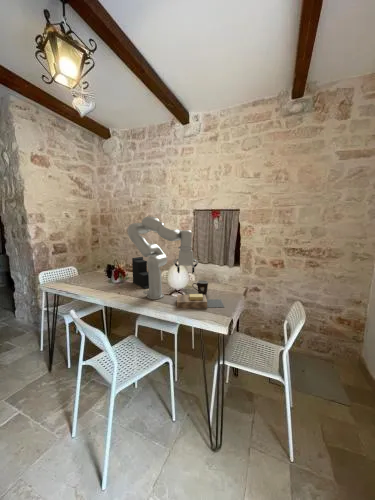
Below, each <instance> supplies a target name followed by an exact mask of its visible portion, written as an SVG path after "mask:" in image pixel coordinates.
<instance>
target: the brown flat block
mask: <svg viewBox="0 0 375 500" xmlns="http://www.w3.org/2000/svg"><path fill="white" fill-rule="evenodd" d="M206 296H207V295H203V300H190V297H189V294H177V298H176V308H177V309H195V308H196V309H197V308H198V309H204V308H205V309H207V308H208V306H207V300H208V299H207V297H206Z"/></svg>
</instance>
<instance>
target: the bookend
mask: <svg viewBox="0 0 375 500" xmlns="http://www.w3.org/2000/svg"><path fill="white" fill-rule="evenodd" d="M131 262H132V267H131V268H132V283H133V284H135V285H137V286H139V287H140V288H141V289H142V288H143V289H144V290H147V289H149V273H148V266H147V260H145V259H144V256H140V257H139V256H137V257H132V258H131Z"/></svg>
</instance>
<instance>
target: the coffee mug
mask: <svg viewBox="0 0 375 500" xmlns="http://www.w3.org/2000/svg"><path fill="white" fill-rule="evenodd" d="M191 285H192V288H193V289H194V290H195V291H197V292H198V293H197V294H202V295H205V296H207V294H208V287H209V286H208V285H209V281H208V280H202V279H201V280H197V281H196V282H193V284H191ZM194 285H196V286H197V288H196V287H194Z"/></svg>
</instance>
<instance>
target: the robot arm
mask: <svg viewBox="0 0 375 500" xmlns="http://www.w3.org/2000/svg"><path fill="white" fill-rule="evenodd" d="M151 231H152V232H154V233H156V234H157V235H158V236H159V237H160V238H162V239H164V240H167V241H168V242H175V241H180V246H178V249H179V252H178V258H177V259H175V260H172V261H173V262H172V263H173V264H174V266H175V268H176V269H177V271H176V272H177V274H180V272H181V271H180V266H187V267H188V266H191V267H192V269H191V273H192V275H193V274H194V273H195V268H196V267H197V266H198V264H199V261H198V260H197V259H194V252H193V250H192V249H193V248H192V247H193V246H192V245H193V243H192V242H193V241H192V240H193V239H192V238H193V236H192V235H193V232H192V231H191V230H188V229H184V230H183V229H170V228H167V227H166V226H165V224H164V222H162V221H160V220H159V218H157V217H156V216H145V217H143V218H142V220H141V222H133V223H131V224H129V225H128V227H127V236H128V238H129V239H130V241H131V242H132V244H134V245H135V247H136V248H137V249H138V251H139V252H140V254H141V255H142V257H145V258H147V259H146V261H147V272H148V273H149V288H148V290H143V294H144V295H146V297H147V299H149V300H157V299H159V300H160V299H162V298H164V297H165V295H164V294H165V293H163V289H162V286H163V285H162V270H161V267H163V266H165V265H166V264H167V263H168V257H167V256H166V253H165V252H163V250H162V248H161V247H160V246H159V245H158V244H156V243H154V242H152V243H148V241H147V240H146V239H145V237H144V236H142V235H144V234H147V233H149V232H151ZM194 262H195V263H194Z"/></svg>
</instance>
